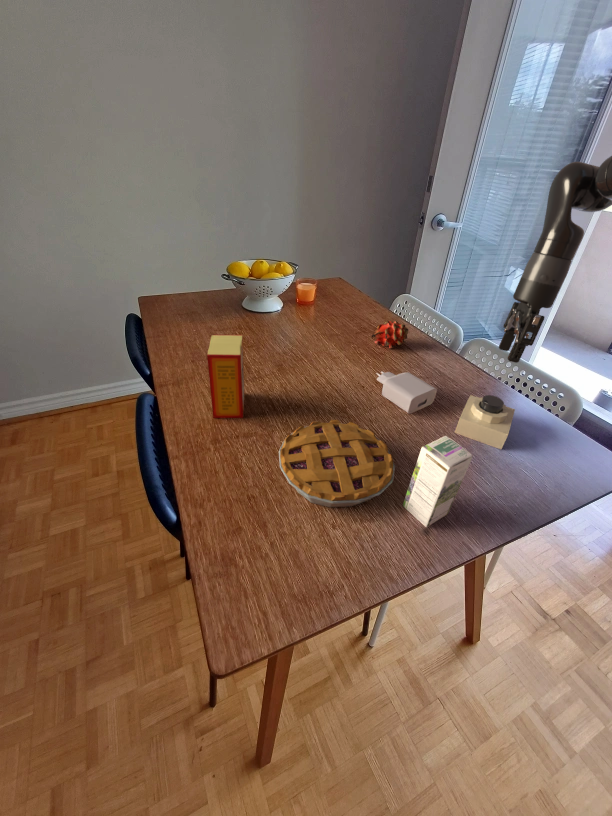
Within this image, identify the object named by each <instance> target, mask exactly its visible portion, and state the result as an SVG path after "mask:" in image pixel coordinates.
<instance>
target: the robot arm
mask: <svg viewBox="0 0 612 816" xmlns="http://www.w3.org/2000/svg"><path fill="white" fill-rule="evenodd" d="M547 196H548V198H547V202H546V209H545V215H544V221H543V225H542V231H541V234H540V235H539V238H538V241H537V243H536V245H535V248H534V250H533V252H532V254H531V256H530V258H529V260H528V261H527V263H526V265H525V267H524V270H523V272H522V275H521V276H520V279H519V281H518V284H517V286H516V287H515V291H514V293H513V295H512V298H513V300H515V301H514V302H513V303H512V306H511V308H510V310H509V313H508V315H507V317H506V319H505V322H504V324H503V328H504V330H503V331H504V332H503V335H502V338H501V339H500V343H499V345H498V349H499V350H500V351H505V352H508V351H510V352H509V353H508V356H507V360H508V361H509V362H511V363H515V364H517V363H519V362H520V360H521V358H522V357H523V354H524V351H525V350H526V348H527V347H529V346H530V347H532V346H534V345H533V344H534V342H536V341H535V340H536V338H537V336H538V334H539V331H540V330H541V327H542V325H543V323H544V321H545V316H544V315H540V311H541V309H542V308H543V309H550V308H552V307H553V305H554V303H555V301H556V298H557V296H558V294H559V292H560V290H561V288H562V286H563V284H564V282H565V280H566V278H567V275H568V273H569V270H570V267H571V265H572V261H573V259H574V258H575V255H576V254H577V252H578V249H579V247H580V245H581V243H582V240H583V238H584V236H585V230H584V228H583V227H581V226H580V225H578V224H577V223H575V222H574V221H573V219H572V209H573V210H576V211H580V212H584V213H596V212H601V211H604V210H606V209H608V208H610V207H611V206H612V155H610V156H609V157H607V158H606V159H604V161H603V162H602V163H601V164H600V165H598V166H597V165H594V164H590V163H587V162H583V161H572V162H570V163H567V164H566V165H564V166H563V167H562V168H561V169H560V170H559V171H558V172H557V174H556V175H555V177H554V178H553V180H552V182H551V184H550V187H549V190H548V195H547ZM516 301H517V302H516ZM513 342H514V343H513Z"/></svg>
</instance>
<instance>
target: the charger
mask: <svg viewBox="0 0 612 816" xmlns="http://www.w3.org/2000/svg"><path fill="white" fill-rule="evenodd" d="M380 373H381V374H380ZM380 373H378V372H376V373H375V375H377V376H378V377H377V378H376V381H377V382H379V383H380V384H382V390H381V396H383V398H385V399H387V400H388V401H390V403H392V404H394V405H396V406H397V407H398V408H399V409H401V410H403V411H404V412H406V413H407V414H413V413H415V412H417V411H420V410H422V409H424V408H427V407H428V406H431V404H433V403H434V401H435V398H436V396H437V392H438V389H437V388H436V387H434V386H433V385H431V384H430V383H428V382H426V381H425V380H423V379H421V378H419V377H418V376H416V375H414V373H413V374H412V373H411V372H401V373H398V374H395V373H393V372H391V371H386V372H385V371H383V370H380Z"/></svg>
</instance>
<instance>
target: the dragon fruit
mask: <svg viewBox="0 0 612 816" xmlns="http://www.w3.org/2000/svg"><path fill="white" fill-rule="evenodd" d="M408 334H409V328H408V327H406V324H405V323H399V322H398V320H396V319H394V320H393V322H392V321H391V320H386V321H385V322H384V323H380V324H378V326H377V328H376V329H375V331H374V332H373V334H372V335H371V339H375V340H374V342H373V343H374V344H375V345H378V346H382V347H384V346H385V347H387V346H388V349H389V350H391V349H393V348H395V347H398V346H402V345H403V344H405V343H406V342H407V341H405V340H406V339H408Z"/></svg>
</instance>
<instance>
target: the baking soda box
mask: <svg viewBox="0 0 612 816" xmlns="http://www.w3.org/2000/svg"><path fill="white" fill-rule="evenodd" d="M243 340H244V339H243V334H211V337H210V341H209V345H208V350H207V354H206V359H207V369H208V378H209V379H208V381H209V388H210V399H211V408H212V409H211V410H212V418H213V419H243V418H244V407H245V371H244V370H245V369H244V368H245V367H244V344H243V342H244V341H243Z"/></svg>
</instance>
